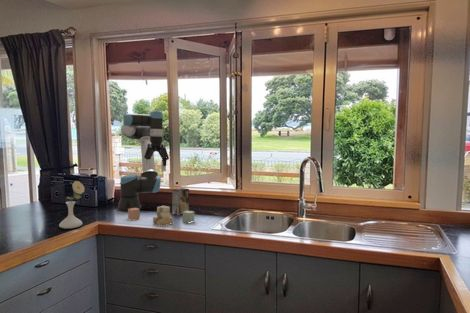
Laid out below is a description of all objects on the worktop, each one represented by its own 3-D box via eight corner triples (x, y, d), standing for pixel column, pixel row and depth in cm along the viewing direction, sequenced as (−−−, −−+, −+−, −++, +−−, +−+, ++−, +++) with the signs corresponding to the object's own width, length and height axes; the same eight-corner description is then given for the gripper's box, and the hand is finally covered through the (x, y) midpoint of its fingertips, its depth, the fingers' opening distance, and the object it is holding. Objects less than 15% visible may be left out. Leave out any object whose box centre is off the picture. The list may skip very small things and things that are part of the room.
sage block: (182, 222, 189) (182, 212, 188) (186, 220, 193) (186, 210, 193) (190, 223, 187) (190, 213, 186) (194, 221, 191) (194, 211, 191)
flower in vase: (65, 231, 167) (64, 183, 165) (55, 227, 173) (54, 181, 172) (89, 226, 177) (89, 181, 175) (79, 222, 184) (78, 179, 182)
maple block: (157, 217, 184) (157, 207, 184) (163, 215, 188) (163, 205, 188) (163, 218, 181) (163, 208, 181) (169, 217, 186) (169, 206, 185)
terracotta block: (128, 218, 195) (128, 208, 195) (135, 217, 198) (135, 207, 198) (131, 220, 191) (131, 210, 191) (139, 218, 195) (139, 209, 194)
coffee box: (182, 211, 215) (182, 187, 214) (189, 213, 211) (189, 188, 210) (171, 214, 208) (171, 189, 207) (178, 215, 204) (178, 190, 203)
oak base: (153, 224, 185) (153, 217, 185) (165, 221, 191) (165, 215, 190) (160, 227, 179) (160, 219, 179) (172, 224, 185) (172, 217, 184)
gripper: (138, 135, 202) (138, 169, 204) (165, 136, 188) (165, 172, 189) (148, 135, 208) (148, 168, 210) (175, 136, 194) (174, 171, 195)
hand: (156, 170), depth 199 cm, fingers open, 13 cm apart
